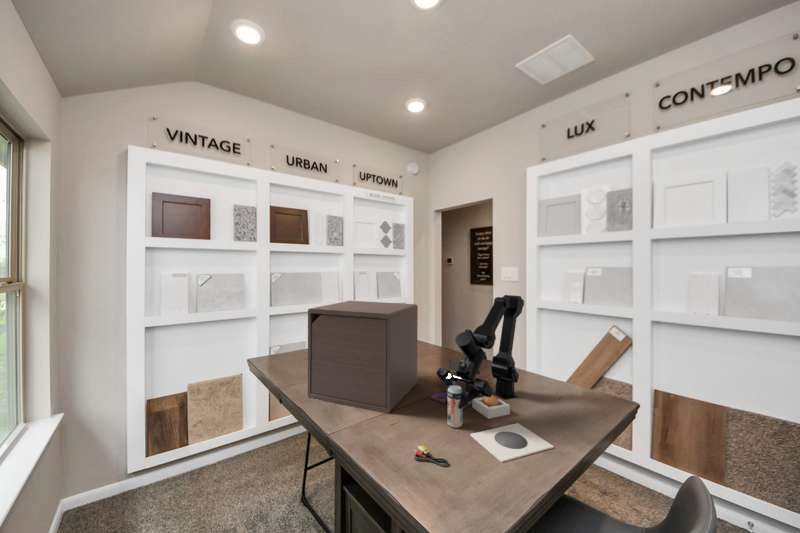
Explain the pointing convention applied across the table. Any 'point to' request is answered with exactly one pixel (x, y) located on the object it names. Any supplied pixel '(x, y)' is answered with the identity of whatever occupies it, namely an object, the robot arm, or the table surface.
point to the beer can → (454, 406)
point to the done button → (490, 401)
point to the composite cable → (428, 456)
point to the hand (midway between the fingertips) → (452, 405)
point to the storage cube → (362, 353)
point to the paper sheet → (511, 442)
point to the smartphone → (441, 398)
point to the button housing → (491, 408)
